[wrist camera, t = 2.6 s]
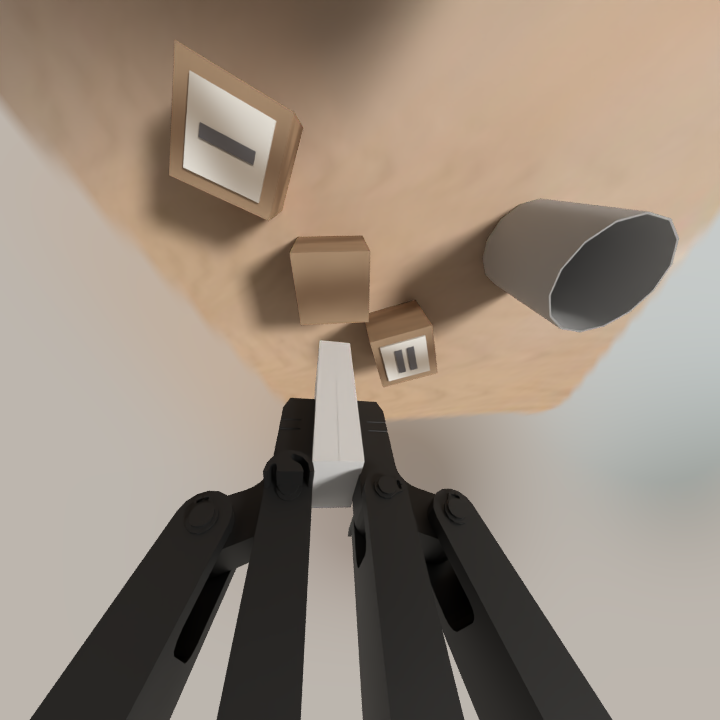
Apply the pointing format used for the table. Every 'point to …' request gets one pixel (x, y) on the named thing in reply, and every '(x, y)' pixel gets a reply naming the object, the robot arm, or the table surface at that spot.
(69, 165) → the table surface
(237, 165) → the numbered block
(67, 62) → the table surface
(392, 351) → the numbered block
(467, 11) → the table surface
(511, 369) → the table surface
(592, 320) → the cup
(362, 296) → the plain block
